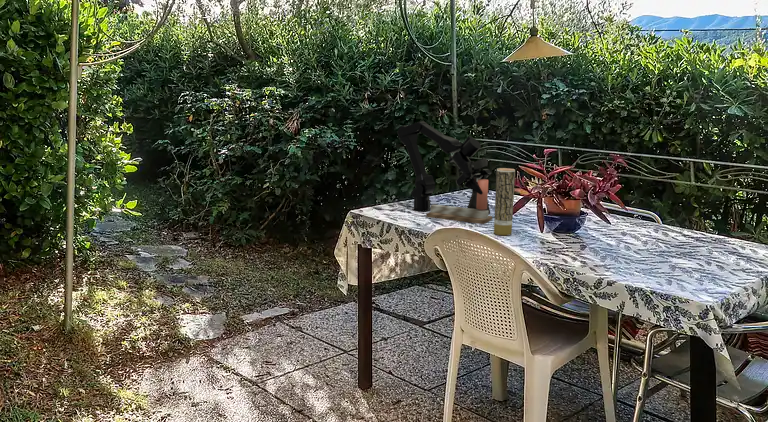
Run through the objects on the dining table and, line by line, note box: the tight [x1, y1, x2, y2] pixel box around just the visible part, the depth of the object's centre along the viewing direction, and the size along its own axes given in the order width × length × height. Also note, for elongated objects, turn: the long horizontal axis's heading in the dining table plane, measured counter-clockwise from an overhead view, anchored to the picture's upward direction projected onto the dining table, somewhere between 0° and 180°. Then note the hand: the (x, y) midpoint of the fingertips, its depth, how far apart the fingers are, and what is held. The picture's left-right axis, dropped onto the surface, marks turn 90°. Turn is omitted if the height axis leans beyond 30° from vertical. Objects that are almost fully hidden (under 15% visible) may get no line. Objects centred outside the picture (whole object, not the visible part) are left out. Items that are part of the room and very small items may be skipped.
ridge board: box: [425, 203, 493, 225], centre depth 278 cm, size 26×10×4 cm, turn 62°
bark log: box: [493, 167, 516, 237], centre depth 249 cm, size 7×7×25 cm
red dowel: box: [476, 178, 489, 209], centre depth 271 cm, size 4×4×12 cm
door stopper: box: [466, 190, 491, 215], centre depth 289 cm, size 9×6×12 cm, turn 39°
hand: (485, 193), depth 270 cm, fingers closed on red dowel, 4 cm apart
